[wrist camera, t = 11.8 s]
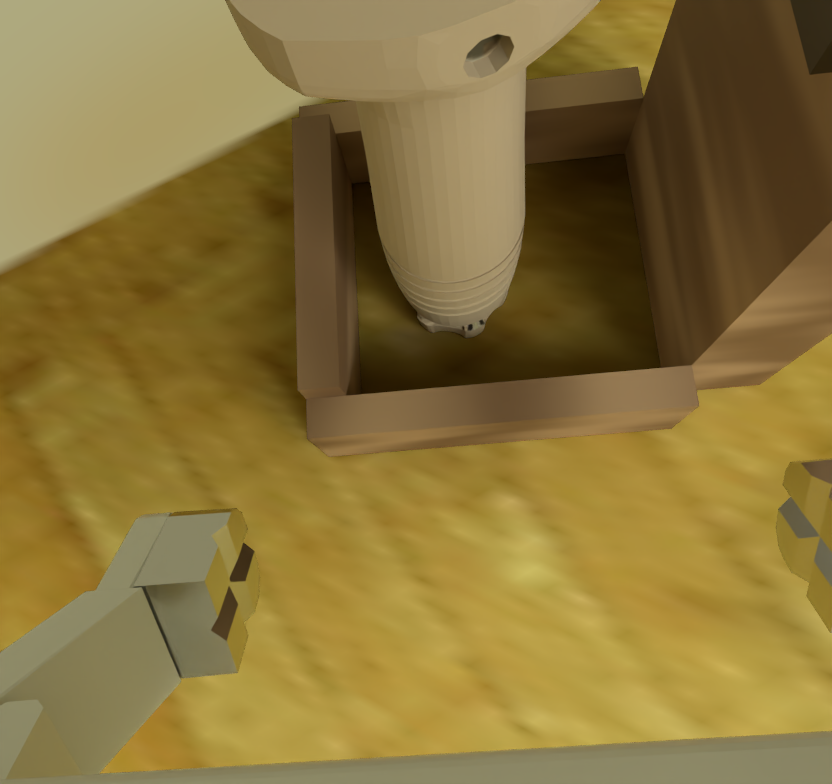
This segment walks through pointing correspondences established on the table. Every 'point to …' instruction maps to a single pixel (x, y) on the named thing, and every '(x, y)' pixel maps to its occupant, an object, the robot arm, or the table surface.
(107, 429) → the table surface
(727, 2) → the wooden frame stand
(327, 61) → the handle
